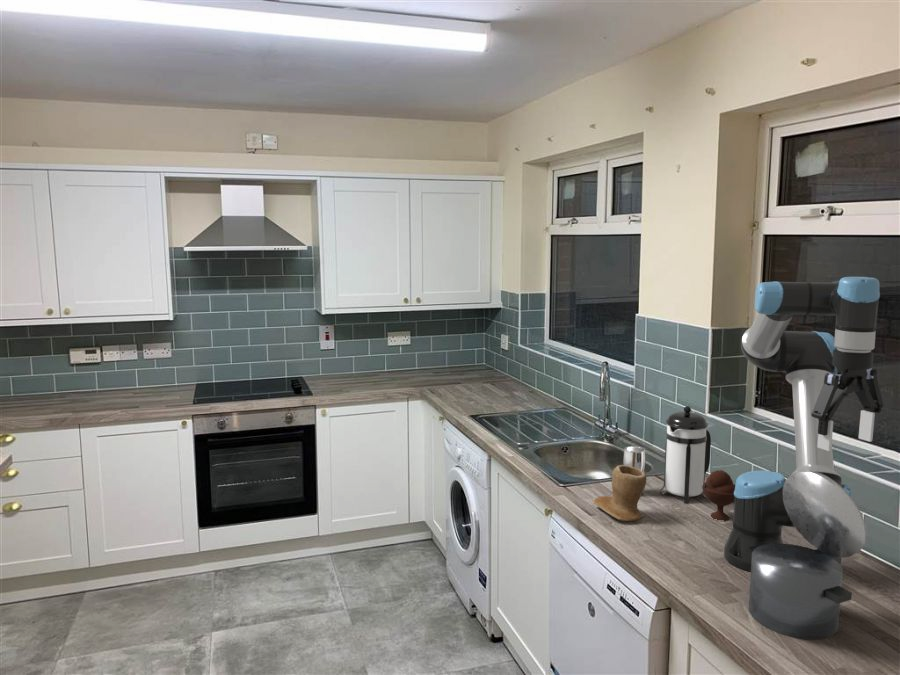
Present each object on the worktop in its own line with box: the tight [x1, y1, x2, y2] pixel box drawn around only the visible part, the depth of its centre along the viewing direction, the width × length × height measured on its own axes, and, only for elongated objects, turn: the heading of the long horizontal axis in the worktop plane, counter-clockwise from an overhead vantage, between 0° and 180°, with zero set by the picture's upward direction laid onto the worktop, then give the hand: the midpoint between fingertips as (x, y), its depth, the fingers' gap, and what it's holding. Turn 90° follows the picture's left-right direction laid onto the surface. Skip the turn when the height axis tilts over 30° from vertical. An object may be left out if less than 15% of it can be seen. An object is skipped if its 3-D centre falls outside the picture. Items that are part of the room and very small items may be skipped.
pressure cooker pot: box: [746, 543, 853, 640], centre depth 153 cm, size 20×24×13 cm
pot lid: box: [783, 470, 867, 559], centre depth 153 cm, size 20×20×3 cm
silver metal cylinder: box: [622, 445, 646, 473], centre depth 226 cm, size 7×7×15 cm
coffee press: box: [659, 405, 712, 504], centre depth 224 cm, size 17×16×30 cm
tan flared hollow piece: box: [592, 464, 647, 522], centre depth 209 cm, size 15×12×15 cm
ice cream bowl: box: [702, 469, 736, 522], centre depth 206 cm, size 11×11×15 cm
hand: (845, 444), depth 150 cm, fingers open, 13 cm apart
